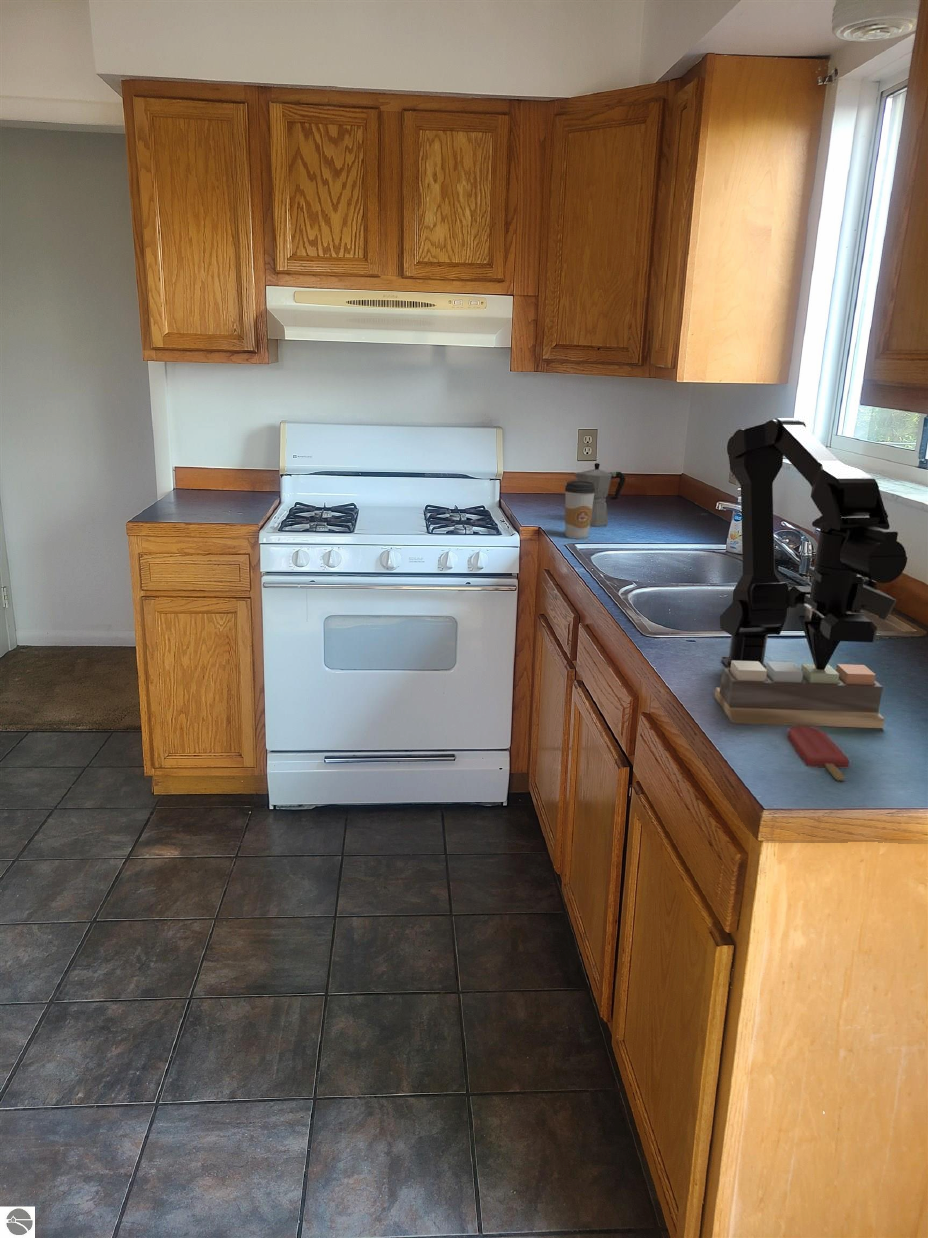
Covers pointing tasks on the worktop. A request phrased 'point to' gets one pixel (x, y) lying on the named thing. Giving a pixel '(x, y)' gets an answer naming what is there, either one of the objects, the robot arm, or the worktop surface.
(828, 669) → the sage key
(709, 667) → the worktop surface
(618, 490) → the coffeepot
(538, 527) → the worktop surface
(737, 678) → the ivory key
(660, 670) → the worktop surface
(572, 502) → the coffee cup
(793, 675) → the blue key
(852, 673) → the terracotta key
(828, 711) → the brown long open box
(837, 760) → the popsicle
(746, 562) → the robot arm
